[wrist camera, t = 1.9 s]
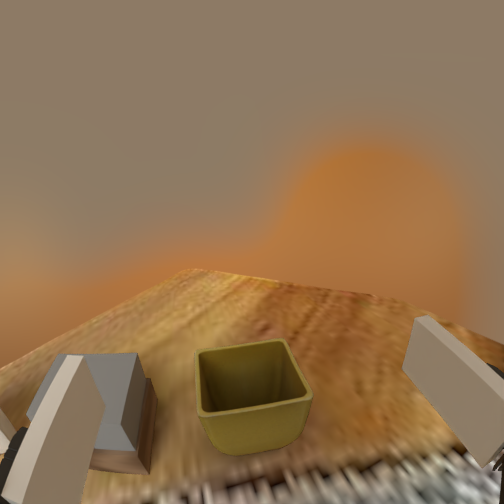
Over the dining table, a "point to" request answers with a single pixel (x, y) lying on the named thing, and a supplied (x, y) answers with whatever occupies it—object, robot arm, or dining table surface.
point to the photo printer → (5, 432)
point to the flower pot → (251, 396)
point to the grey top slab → (109, 396)
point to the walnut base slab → (141, 457)
